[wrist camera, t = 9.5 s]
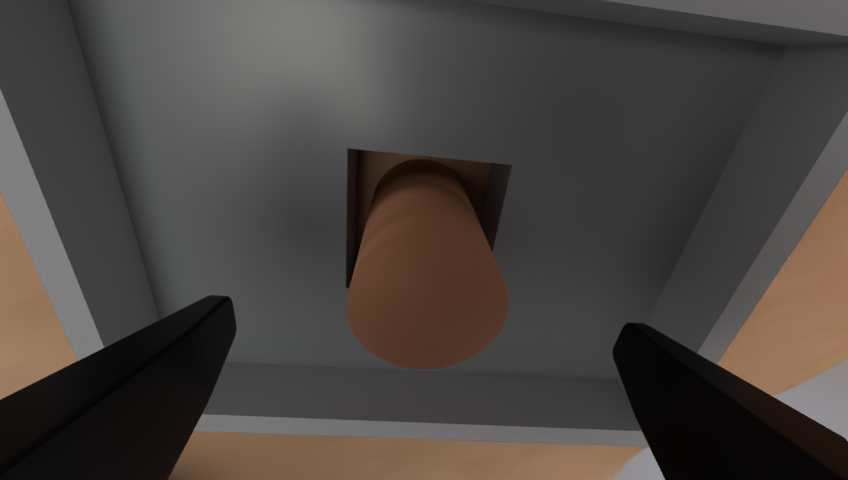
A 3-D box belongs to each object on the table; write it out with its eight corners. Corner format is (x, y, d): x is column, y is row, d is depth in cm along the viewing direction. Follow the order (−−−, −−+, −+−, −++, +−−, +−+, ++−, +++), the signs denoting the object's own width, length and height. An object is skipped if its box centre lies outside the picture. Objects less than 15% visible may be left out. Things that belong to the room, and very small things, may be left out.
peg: (370, 244, 16) (345, 365, 9) (374, 154, 14) (346, 232, 8) (459, 251, 16) (491, 373, 10) (474, 164, 14) (525, 246, 8)
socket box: (184, 334, 18) (108, 428, 13) (78, -81, 10) (-172, -186, 6) (603, 358, 19) (661, 447, 15) (760, 19, 12) (963, -4, 8)
